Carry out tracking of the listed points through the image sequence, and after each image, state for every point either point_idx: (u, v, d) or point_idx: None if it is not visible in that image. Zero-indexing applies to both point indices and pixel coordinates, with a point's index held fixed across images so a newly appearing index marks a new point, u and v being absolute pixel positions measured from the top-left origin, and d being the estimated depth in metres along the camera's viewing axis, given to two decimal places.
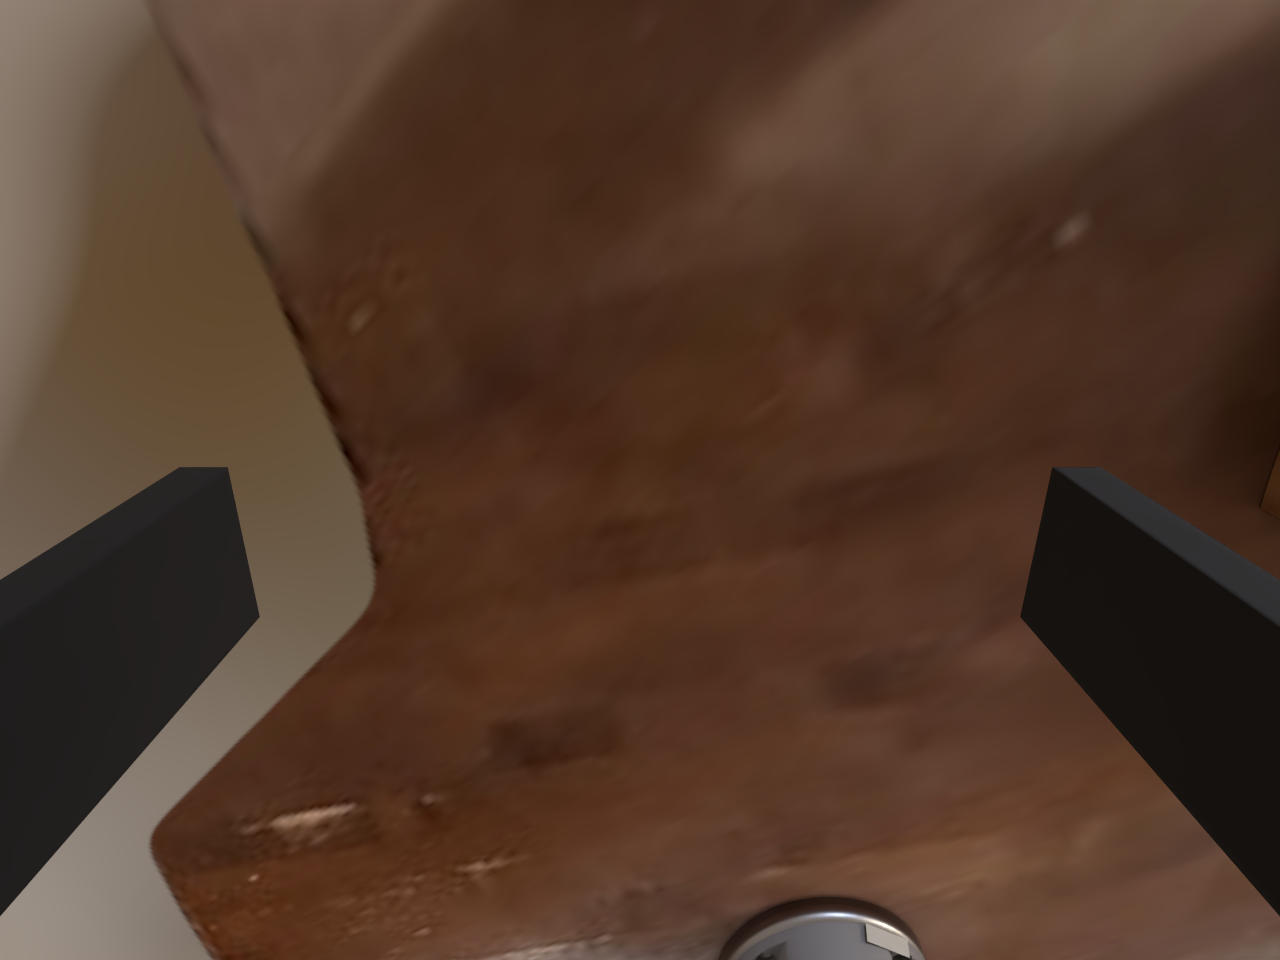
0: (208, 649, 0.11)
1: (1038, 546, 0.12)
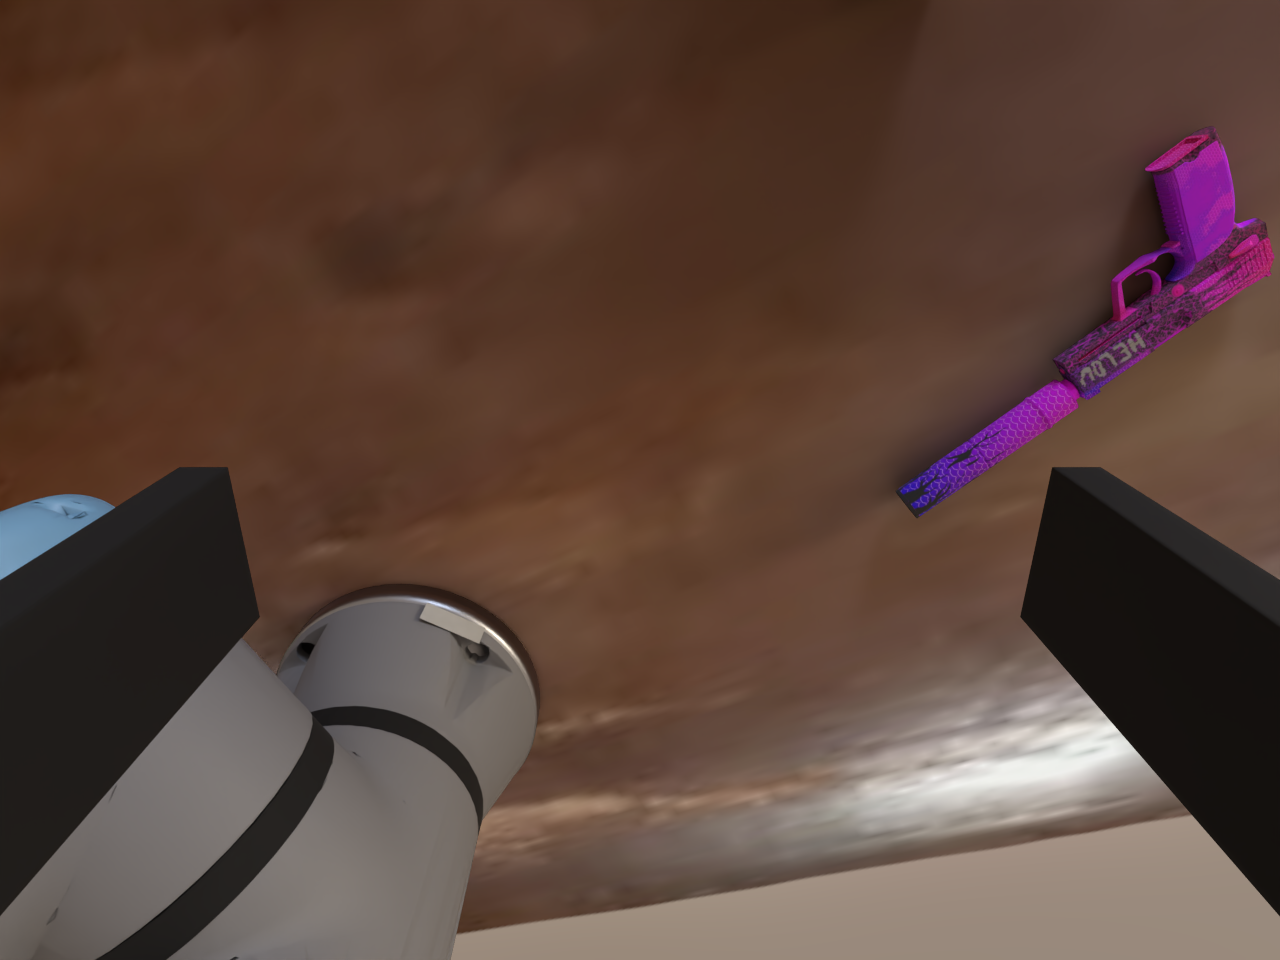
0: (208, 649, 0.11)
1: (1038, 546, 0.12)
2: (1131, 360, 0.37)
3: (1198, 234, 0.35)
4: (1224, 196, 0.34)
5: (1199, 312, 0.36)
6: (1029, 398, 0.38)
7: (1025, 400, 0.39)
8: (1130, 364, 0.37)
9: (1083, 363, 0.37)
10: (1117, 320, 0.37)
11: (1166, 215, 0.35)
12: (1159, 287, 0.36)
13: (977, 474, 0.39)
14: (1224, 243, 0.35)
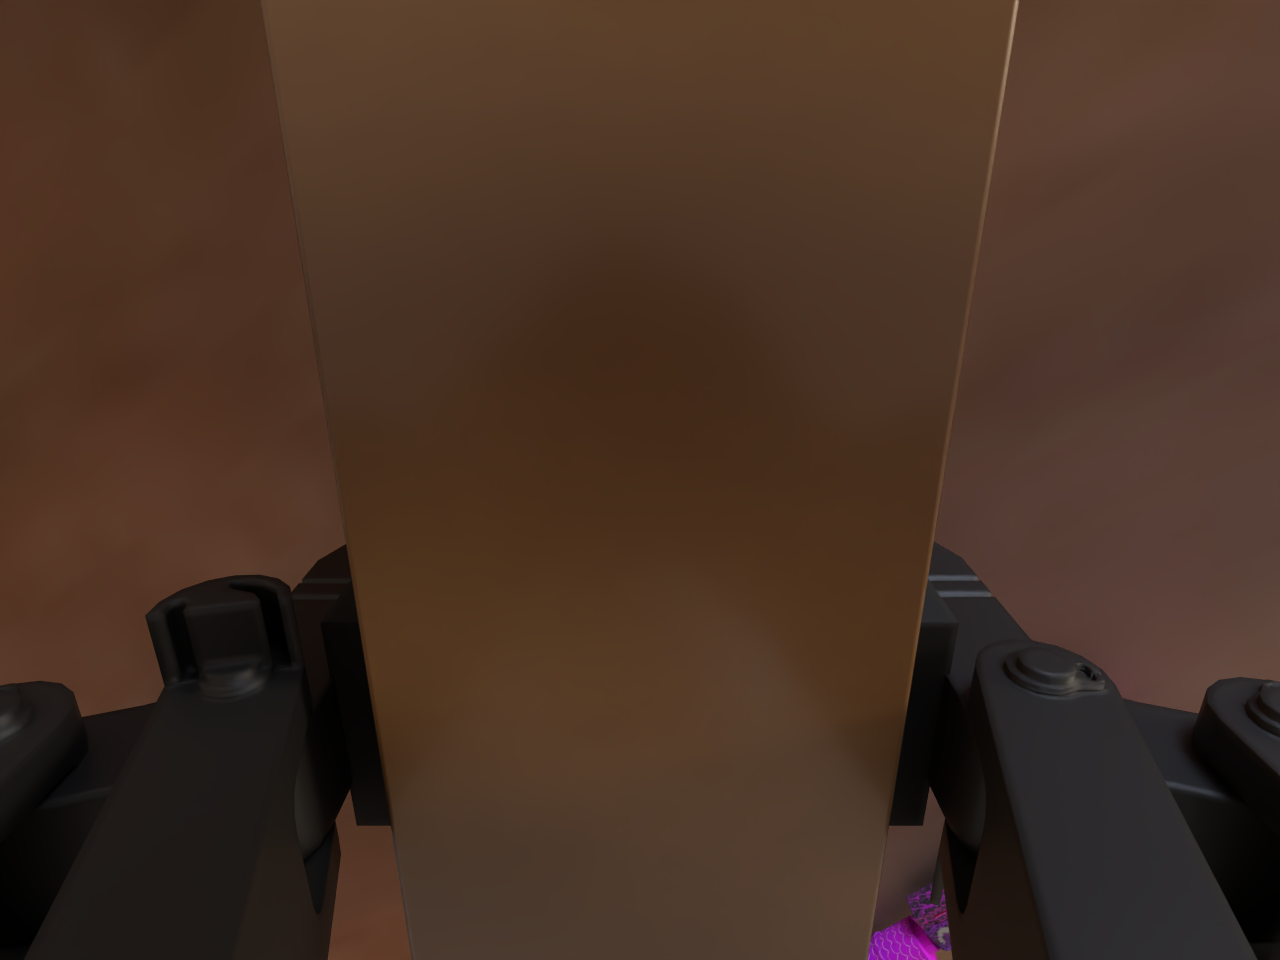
0: None
1: None
2: None
3: None
4: None
5: None
6: (877, 944, 0.30)
7: (872, 943, 0.30)
8: None
9: (940, 921, 0.29)
10: None
11: None
12: None
13: None
14: None
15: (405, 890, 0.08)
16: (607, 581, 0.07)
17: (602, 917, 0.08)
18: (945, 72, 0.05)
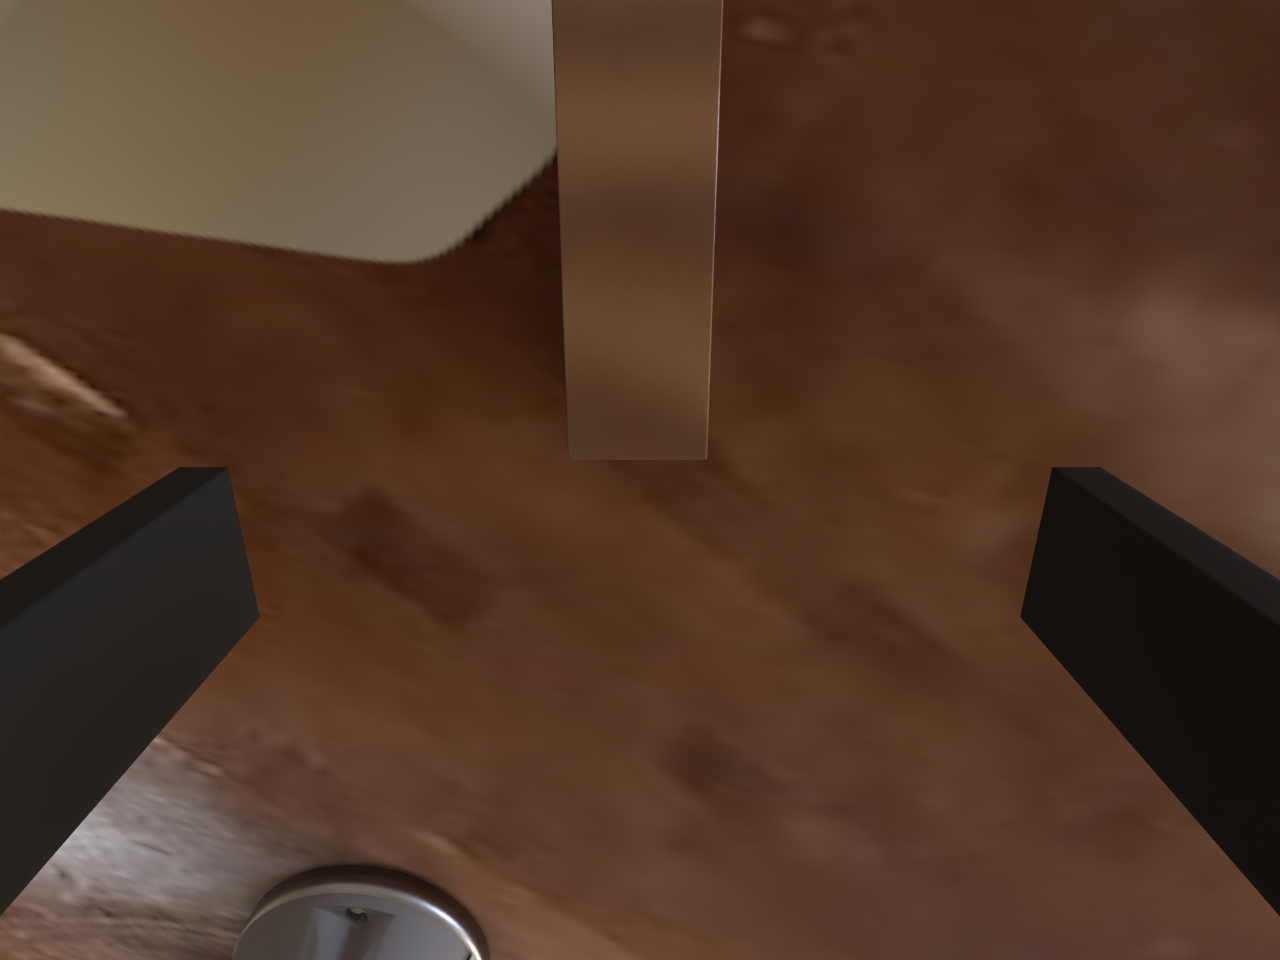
0: (208, 648, 0.11)
1: (1038, 546, 0.12)
2: None
3: None
4: None
5: None
6: None
7: None
8: None
9: None
10: None
11: None
12: None
13: None
14: None
15: (567, 394, 0.26)
16: (629, 287, 0.25)
17: (626, 404, 0.27)
18: (703, 159, 0.24)
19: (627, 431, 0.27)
